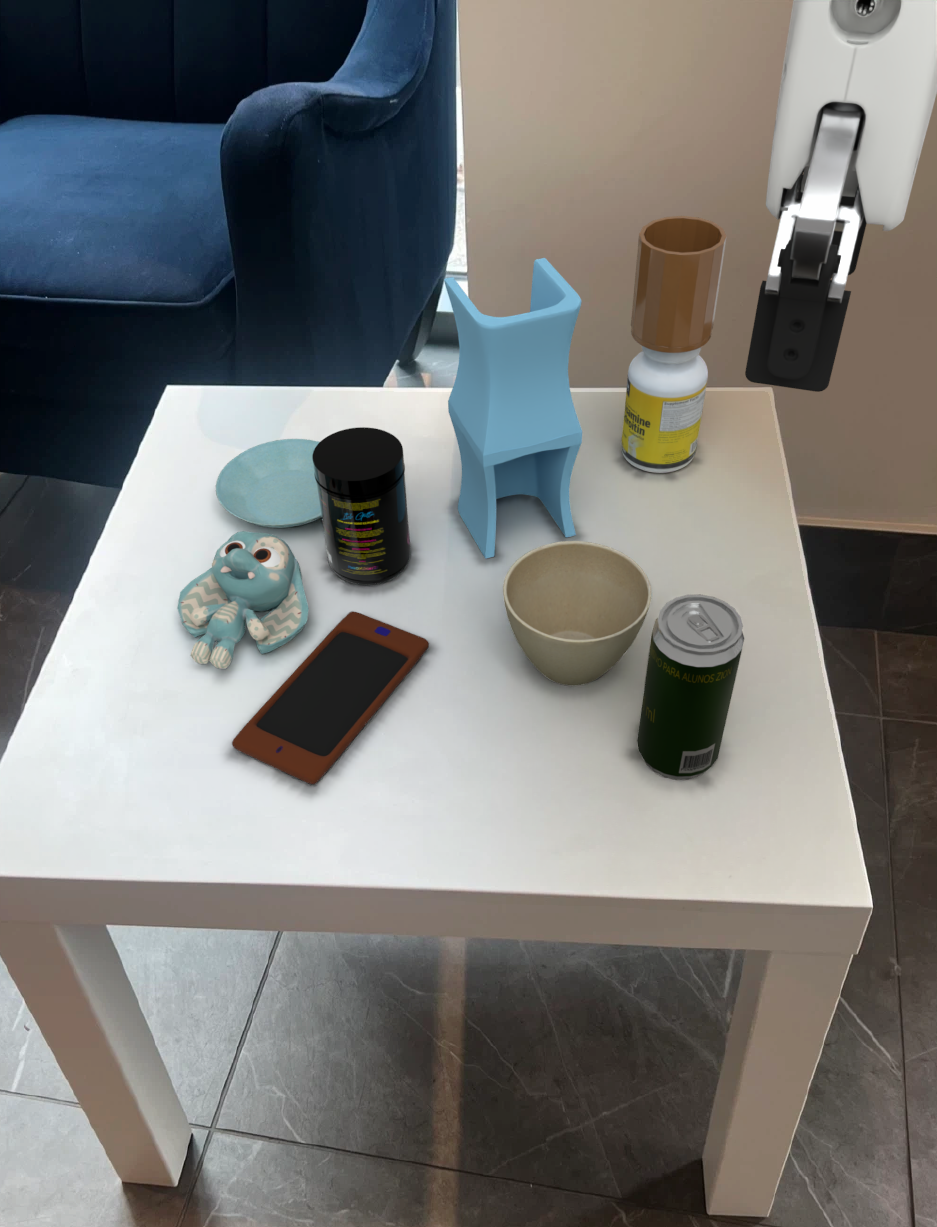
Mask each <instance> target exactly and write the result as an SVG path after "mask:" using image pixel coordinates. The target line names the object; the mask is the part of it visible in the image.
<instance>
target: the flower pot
mask: <svg viewBox="0 0 937 1227" xmlns="http://www.w3.org/2000/svg"><path fill="white" fill-rule="evenodd" d="M652 593H653V592H652V586H651V582H650V580H649V578H648V576H647V574H646V572H645V570H644V569H643V568H642V567H641V566H640V565H639V564H638V563H637V562H636V561H635V560H634V559H632V558H631V557H630V556H629V555H627V554H625V553H623V552H621V551H620V550H617V549H615V548H614V547H610V546H607V545H604V544H601V543H596V542H592V541H583V540H564V541H563V540H562V541H556V542H550V543H547V544H543V545H541V546H538V547H535V548H533V549H531V550H529V551H527V552H526V553H524V554H523V555H522V556H520V557H518V559H517V560H515V561H514V562H513V563H512V565H511V566H510V567H509V569H508V570H507V572H506V574H505V577H504V580H503V585H502V594H503V603H504V608H505V614H506V617H507V620H508V623H509V626H510V628H511V631H512V633H513V636H514V637H515V639H516V642H517V643H518V645H519V647H520V649H521V650H522V652H523V654H524V655H525V656H526V658H527V659H528V660H529V661H530V663H531V664H532V666H534V668H535V669H536V670H537V671H538V672H539V673H540V674H542V676H544V677H545V678H546V679H548V680H549V681H551V682H553V683H556V684H559V685H562V686H571V687H576V686H583V685H588V684H591V683H592V682H594V681H595V680H598V679H599V678H600V677H602V676H603V675H605V674H606V673H607V672H609V671H610V670H611V669H612V668H613V667H614V666H615V665H616V664H617V663H618V662H619V661H620V660H621V659H622V657H624V655H625V654H626V653H627V651H629V648H630V647H631V646H632V645H633V643H634V641H635V640H636V638H637V636H638V634H639V633H640V631H641V629H642V626H643V624H644V623H645V620H646V618H647V615H648V612H649V609H650V606H651V602H652Z"/></svg>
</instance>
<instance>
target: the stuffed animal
mask: <svg viewBox="0 0 937 1227" xmlns="http://www.w3.org/2000/svg"><path fill="white" fill-rule="evenodd" d="M178 597H179V598H178V602H177V608H176V609H177V612H178V614H179V618H180V620H181V625H182V626H183V628H185V630H186V631H187V632H188V633H189V634H190V635H191V636H192V637H194V638H196V637H199V636H201V635H202V636H201V637H200V638H198V639H197V640H196V642H195V643H194V644H193V646H192V649H191V652H190V657H191V659H192V661H194V662H195V663H197V664H201V665H208V663H209V662H210V664H211V665H212V666H213V667H214V668H216V669H221V670H225V669H228V668H229V666H230V664H231V663H232V660H233V657H234V650H235V646H236V644H238V643H239V642H240V641H241V640H242V639H243V637H244V634H246V627H247V630H248V633H249V635H250V636H251V638H252V639H253V640H255V644H256V648H258V650H259V652H260V654H261V655H262V654H268V653H270V652H272V651H274V650H276V649H278V648H280V647H281V646H284V645H285V644H288V643H290V642H291V641H292V640H293V639H294V638H295V637H296V636H297V635H298V634H299V633H300V632H301V631H302V630H303V629H304V628H305V625H306V624H307V622H308V618H309V610H310V608H309V603H308V600H307V597H306V592H305V587H304V584H303V575H302V570H301V567H300V563H299V562H298V559H297V558H296V556H295V554H294V553H293V551H292V549H291V547H290V545H289V544H288V543H287V542H286V541H285V540H284V539H283V538H280V537H278V536H277V535H274V534H273V533H272V534H271V533H268V532H257V531H255V532H253V531H248V530H247V531H246V530H240V531H237V532H235V533H234V534H232V535H231V536H230V537H229V538H228V539H227V541H225V542H224V543H223V544H222V545H220V547H219V548H218V549H217V550H216V552H215V555H214V557H213V560H212V563H211V567H210V568H209V569H208V570H206V571H205V572H203V573H202V574H200V575H198V576H197V577H195V578H194V579H192V580H190V581H189V583H188V584H186V586H185V587H183V589H182V590H180V592H179V596H178ZM267 611H268V612H267ZM255 612H267V613H266V614H265V615H264V616H263V617H261V618H259V617H258V615H257V614H256V613H255ZM215 643H217V644H216V645H215ZM214 645H215V646H214Z"/></svg>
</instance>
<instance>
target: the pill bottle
mask: <svg viewBox="0 0 937 1227" xmlns="http://www.w3.org/2000/svg"><path fill="white" fill-rule="evenodd" d="M641 350H642V351H640V352H638V353H637V354H636V355H635V356H634V357H633V359H632V360H631V362H630V364H629V366H628V369H627V370H628V371H627V378H626V389H625V390H626V391H625V392H626V393H625V402H624V411H623V422H622V431H621V440H620V442H621V443H620V448H621V454H622V456H623V458H624V459H625V460H626V461H627V462H628V463H629V464H630V465H632V466H633V467H635V468H637V469H639V470H641V471H644V472H649V473H655V474H656V473H657V474H665V473H672V472H675V471H678V470H681V469H683V468H684V467H686V466H688V465H689V464H690V463H691V462H692V461H693V459H694V457H695V455H696V452H697V447H698V442H699V441H698V440H699V434H700V428H701V422H702V415H703V410H704V404H705V397H706V392H707V386H708V377H709V372H708V371H709V370H708V366H707V363H706V362H705V360H704V359H703V357H702V356H701V355H700V354H701V350H702V347H700V348H698V349H695V350H692V351H688V352H682V353H665V352H658V351H654V350H651V349H648V348H646V347H643V346H642V345H641Z"/></svg>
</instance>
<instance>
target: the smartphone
mask: <svg viewBox="0 0 937 1227" xmlns="http://www.w3.org/2000/svg"><path fill="white" fill-rule="evenodd" d="M429 646H430V643H429V640H427V639H426V638H425V637H422V636H419V635H418V634H415V633H412V632H410V631H407V630H404V629H401V628H399V627H397V626H394V625H392V624H389V623H387V622H384V621H382V620H378V619H377V618H373V617H371V616H368V615H366V614H364V613H360V612H357V611H353V610H352V611H350V612H348V613H347V614H346V615H345V616H344V618H342V619H341V621H339V622H338V623H337V625H336V626H335V627H334V628H333V629H332V630H331V631H330V632H329V633H328V634H327V635H326V636H325V638H324V639H322V640H321V642H320V643H319V644H318V645H317V646H316V647H315V649H314V650H313V651H312V652H311V653H310V654H309V655H308V656H307V657H306V658H305V659H304V661H302V662H301V663H300V665H298V667H297V668H296V669H295V670H294V671H293V672H292V673H291V675H290V676H288V678H287V679H286V680H284V682H283V683H282V684H281V685H280V686H279V687H278V689H277V690H276V691H275V692H274V693H273V694H272V695H271V696H270V697H269V698H268V699H267V701H266V702H265V703H264V704H263V705H262V706H261V707H260V708H259V710H258V711H256V713H255V714H254V715H253V716H252V717H251V719H250V720H248V722H247V723H245V725H244V726H243V727H242V728H241V730H239V732H238V733H237V734H236V735H235V737H234V738H233V740H232V742H231V745H232V747H233V749H235V750H237V751H238V752H240V753H242V754H244V755H247V756H248V757H251V758H253V759H255V760H257V761H260V762H261V763H263V764H265V765H268V766H271V767H272V768H274V769H277V770H278V771H281V772H283V773H285V774H287V775H289V776H291V777H294V778H295V779H298V780H300V781H302V782H304V783H307V784H309V785H316V784H317V783H318V782H319V781H320V780H321V779H322V777H324V775H325V774H326V773H327V772H328V771H329V770H330V768H331V767H332V766H333V765H334V764H335V763H336V761H337V760H338V759H339V758H340V757H341V755H342V754H343V753H344V752H345V751H346V749H347V748H348V747H349V746H350V745H351V743H353V741H354V740H355V739H356V737H357V736H358V735H359V734H360V732H361V731H362V730H363V729H364V727H365V726H366V725H367V724H368V722H369V721H370V720H371V719H372V718H373V716H374V715H375V714H376V713H377V711H378V710H379V709H380V708H381V707H382V706H383V705H384V703H385V702H386V701H387V699H389V697H390V696H391V695H392V694H393V692H394V691H395V690H396V688H397V687H398V686H399V685H400V684H401V683H402V681H403V680H404V679H405V678H406V676H407V675H408V674H409V673H410V671H411V670H412V669H413V668H414V667H415V666H416V664H417V663H418V662H419V660H420V659H421V658H422V656H423V655H424V654H425V652H427V650H428V649H429Z"/></svg>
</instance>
